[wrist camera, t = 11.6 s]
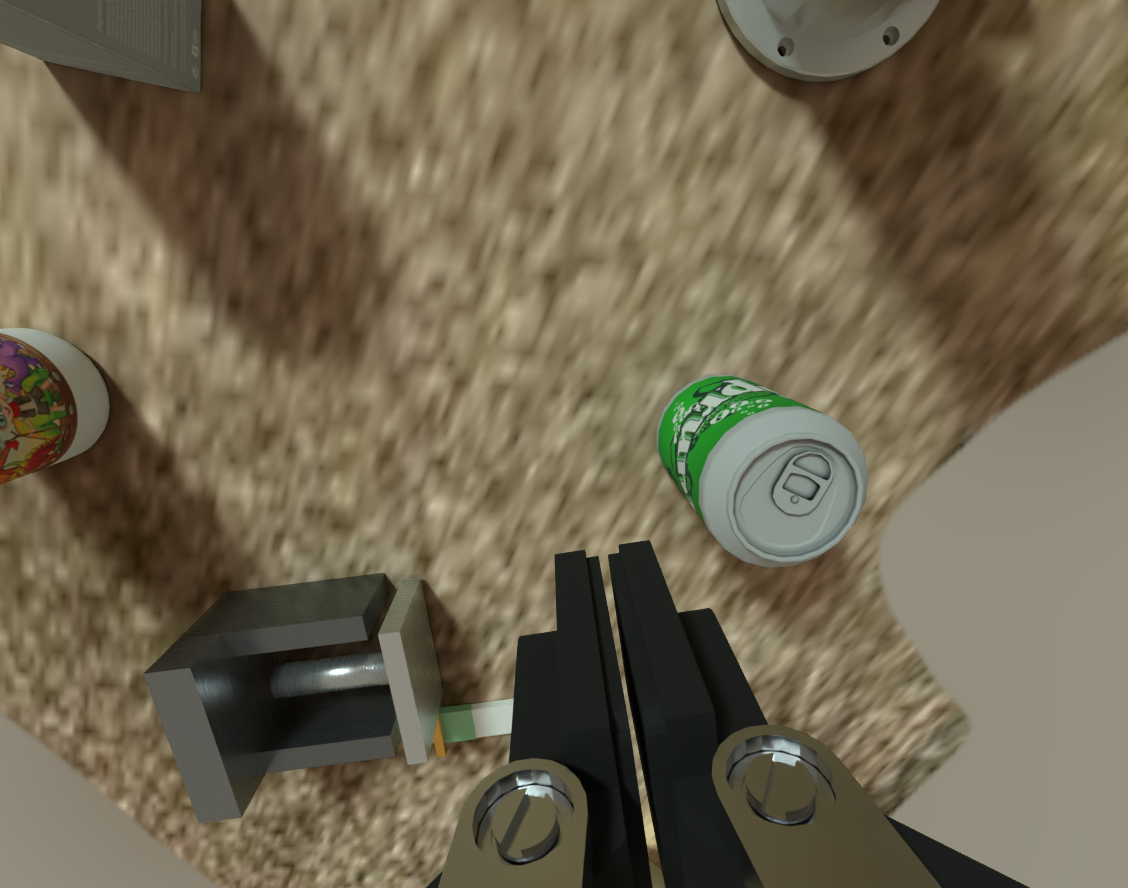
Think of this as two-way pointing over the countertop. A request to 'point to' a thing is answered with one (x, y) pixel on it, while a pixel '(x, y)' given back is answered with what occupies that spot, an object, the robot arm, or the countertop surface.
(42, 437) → the milk bottle
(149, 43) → the skincare box
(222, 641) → the bracket
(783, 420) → the soda can
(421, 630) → the plunger
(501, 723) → the strip
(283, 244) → the countertop surface
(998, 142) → the countertop surface
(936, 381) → the countertop surface
